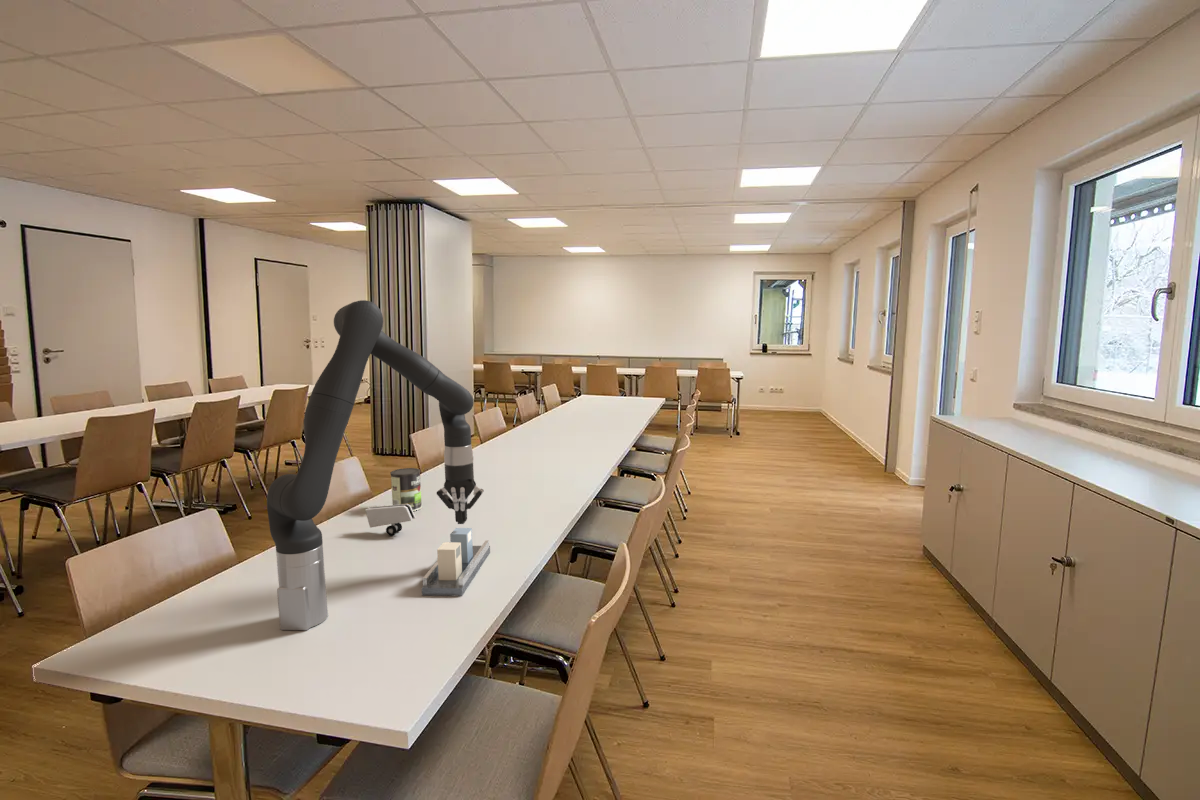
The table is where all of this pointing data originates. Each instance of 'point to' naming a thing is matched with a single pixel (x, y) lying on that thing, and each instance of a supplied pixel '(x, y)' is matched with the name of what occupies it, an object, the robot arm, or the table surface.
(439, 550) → the block
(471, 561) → the tray
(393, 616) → the table surface
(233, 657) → the table surface
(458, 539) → the block
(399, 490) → the coffee can
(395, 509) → the grey wheeled device
